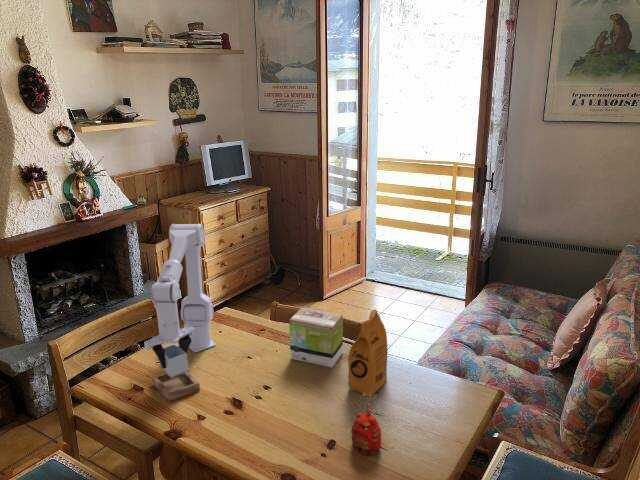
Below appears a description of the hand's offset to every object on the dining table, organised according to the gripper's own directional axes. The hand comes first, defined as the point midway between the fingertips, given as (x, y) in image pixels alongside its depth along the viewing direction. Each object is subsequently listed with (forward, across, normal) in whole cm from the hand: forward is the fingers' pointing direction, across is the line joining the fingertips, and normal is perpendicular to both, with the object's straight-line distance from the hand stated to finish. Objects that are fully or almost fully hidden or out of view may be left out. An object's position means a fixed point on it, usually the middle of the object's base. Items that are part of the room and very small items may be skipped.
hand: (173, 363), depth 153 cm
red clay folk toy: (+8, +26, -55) cm, 61 cm away
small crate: (+2, 0, 0) cm, 2 cm away
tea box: (+8, +43, -13) cm, 46 cm away
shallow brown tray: (+8, 0, 0) cm, 8 cm away
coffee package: (+8, +45, -35) cm, 58 cm away
